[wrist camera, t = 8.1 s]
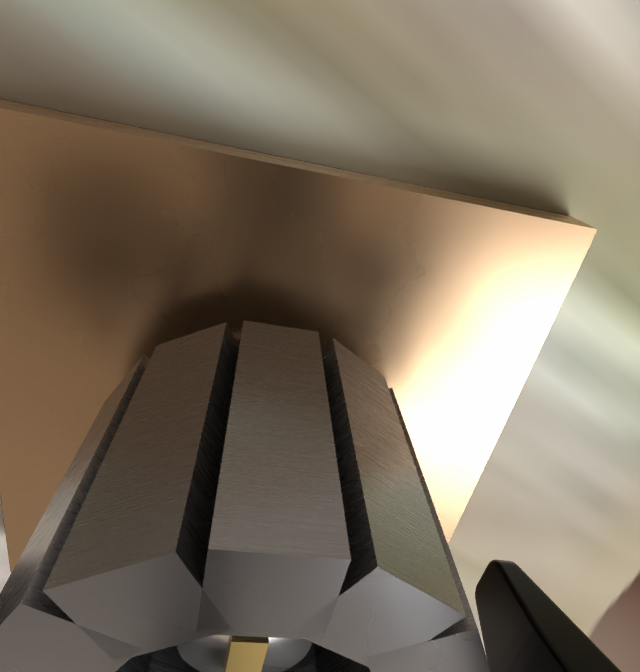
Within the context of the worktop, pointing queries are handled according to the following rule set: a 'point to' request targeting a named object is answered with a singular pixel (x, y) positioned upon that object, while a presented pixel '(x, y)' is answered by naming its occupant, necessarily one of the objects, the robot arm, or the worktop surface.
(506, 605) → the robot arm
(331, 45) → the worktop surface
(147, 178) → the shaft stand
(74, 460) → the hub
